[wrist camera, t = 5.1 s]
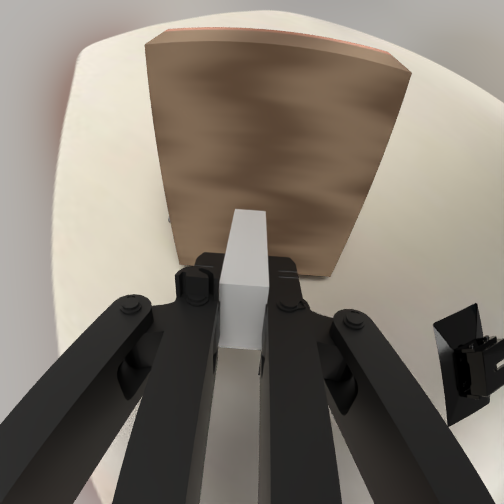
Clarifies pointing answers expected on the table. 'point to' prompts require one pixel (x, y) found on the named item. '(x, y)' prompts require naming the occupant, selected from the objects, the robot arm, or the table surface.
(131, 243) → the table surface
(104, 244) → the table surface
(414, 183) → the table surface
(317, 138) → the mottled brown tile
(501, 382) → the black notched bracket mount
